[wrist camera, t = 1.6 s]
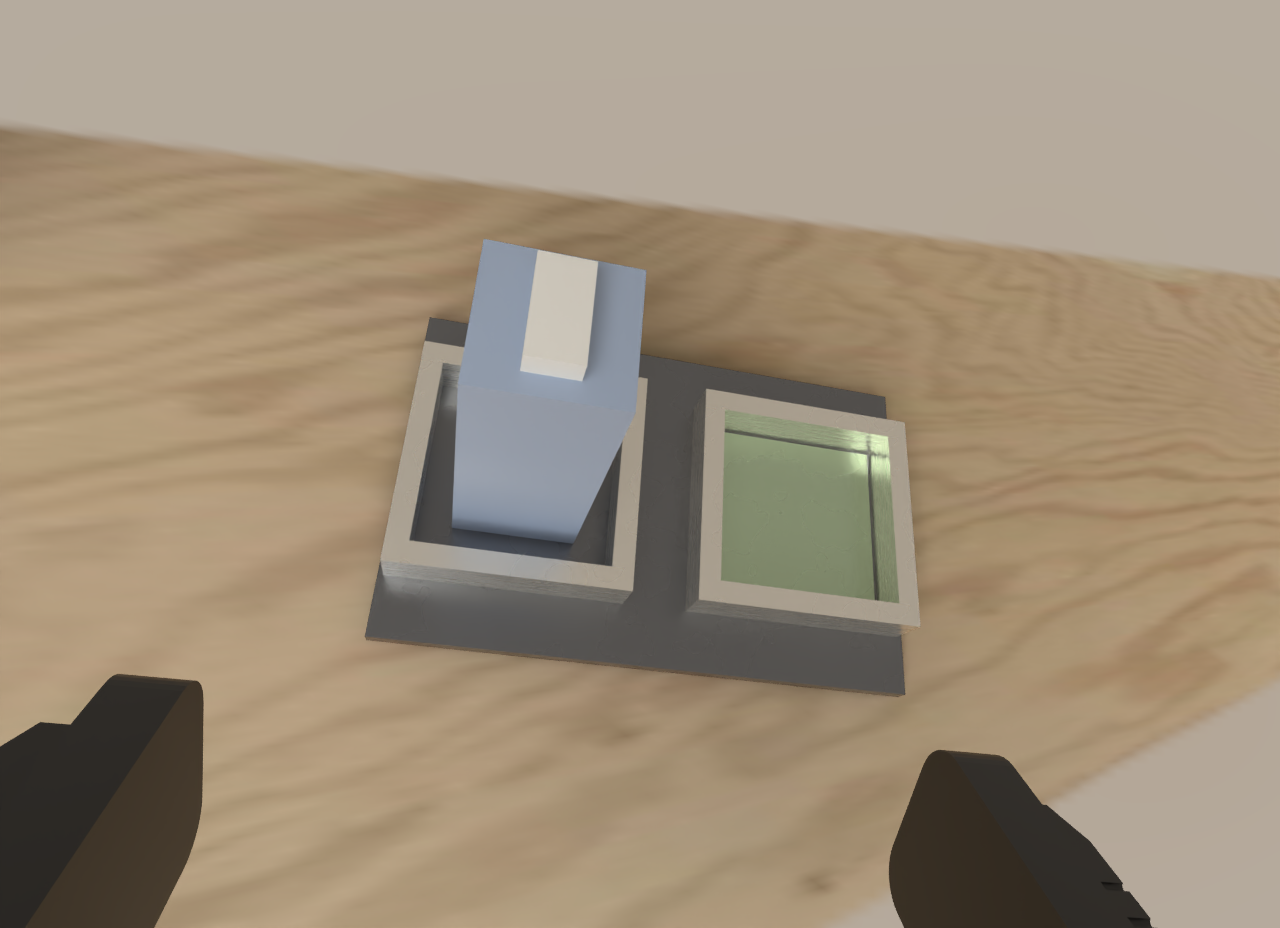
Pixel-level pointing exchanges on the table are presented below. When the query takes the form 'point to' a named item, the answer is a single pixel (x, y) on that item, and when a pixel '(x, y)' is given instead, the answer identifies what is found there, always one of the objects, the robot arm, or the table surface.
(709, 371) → the panel
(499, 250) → the plug
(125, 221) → the table surface
